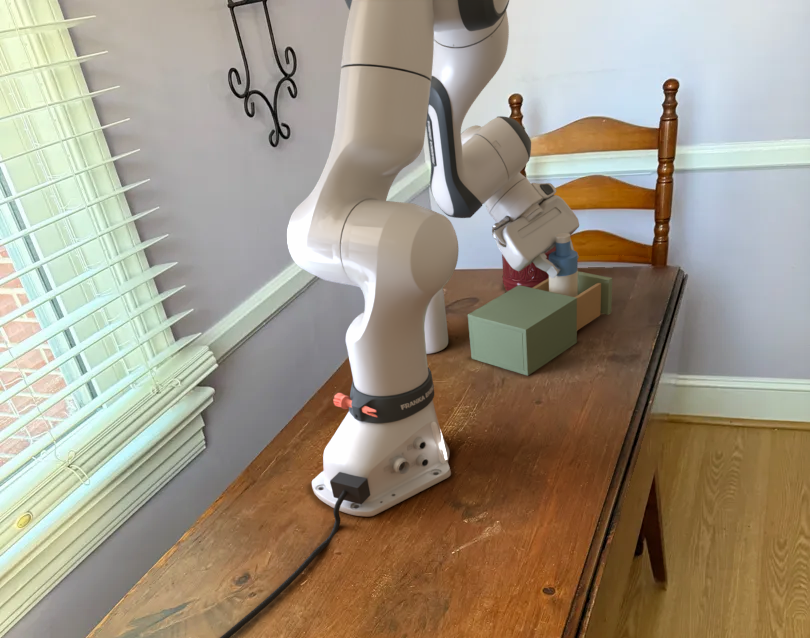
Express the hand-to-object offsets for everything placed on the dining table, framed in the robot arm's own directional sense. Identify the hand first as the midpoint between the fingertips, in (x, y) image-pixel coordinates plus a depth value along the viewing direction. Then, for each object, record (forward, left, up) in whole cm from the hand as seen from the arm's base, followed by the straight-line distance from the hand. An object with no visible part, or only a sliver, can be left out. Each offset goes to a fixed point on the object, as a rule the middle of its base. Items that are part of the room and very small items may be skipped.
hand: (566, 268), depth 145 cm
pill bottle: (-20, +18, -11) cm, 29 cm away
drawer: (+2, +1, -10) cm, 11 cm away
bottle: (0, +1, -9) cm, 9 cm away
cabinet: (-12, +1, -11) cm, 17 cm away
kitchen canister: (+13, +18, -11) cm, 25 cm away
